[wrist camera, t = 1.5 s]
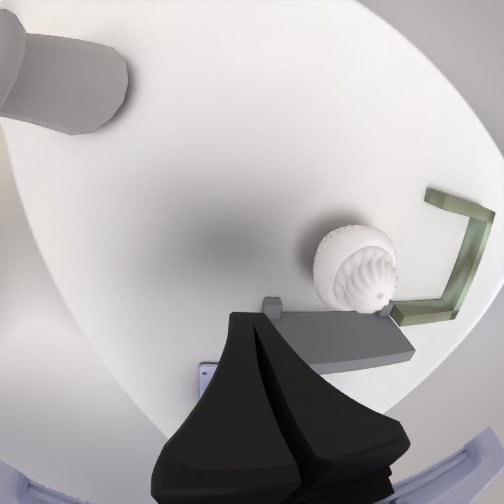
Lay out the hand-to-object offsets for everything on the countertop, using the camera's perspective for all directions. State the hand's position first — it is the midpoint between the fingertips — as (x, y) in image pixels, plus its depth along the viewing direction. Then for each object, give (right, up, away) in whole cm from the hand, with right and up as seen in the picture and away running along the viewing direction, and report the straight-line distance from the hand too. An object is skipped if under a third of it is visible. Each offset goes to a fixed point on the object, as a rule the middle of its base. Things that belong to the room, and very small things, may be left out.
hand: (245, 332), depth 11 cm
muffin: (+7, +4, +10) cm, 13 cm away
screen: (+7, -3, +13) cm, 15 cm away
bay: (+19, +3, +12) cm, 22 cm away
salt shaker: (-10, +14, +3) cm, 17 cm away
